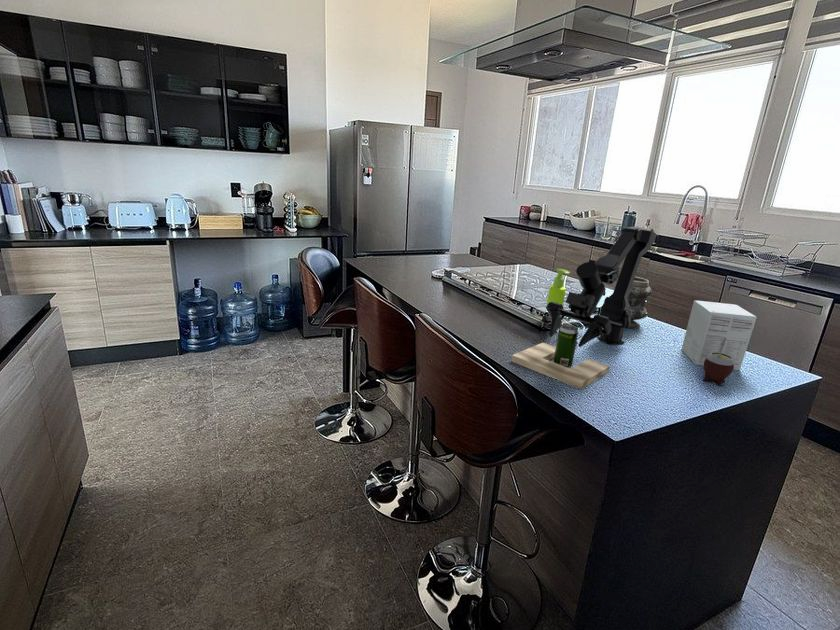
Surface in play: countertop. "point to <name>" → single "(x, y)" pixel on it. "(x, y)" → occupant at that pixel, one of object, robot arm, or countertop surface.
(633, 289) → the carved stone vase
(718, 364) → the mate gourd
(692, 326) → the supplement box
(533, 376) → the countertop surface
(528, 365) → the tan u-shaped bracket
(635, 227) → the robot arm
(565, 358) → the green drink can
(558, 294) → the soap dispenser
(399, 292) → the countertop surface
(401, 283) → the countertop surface
